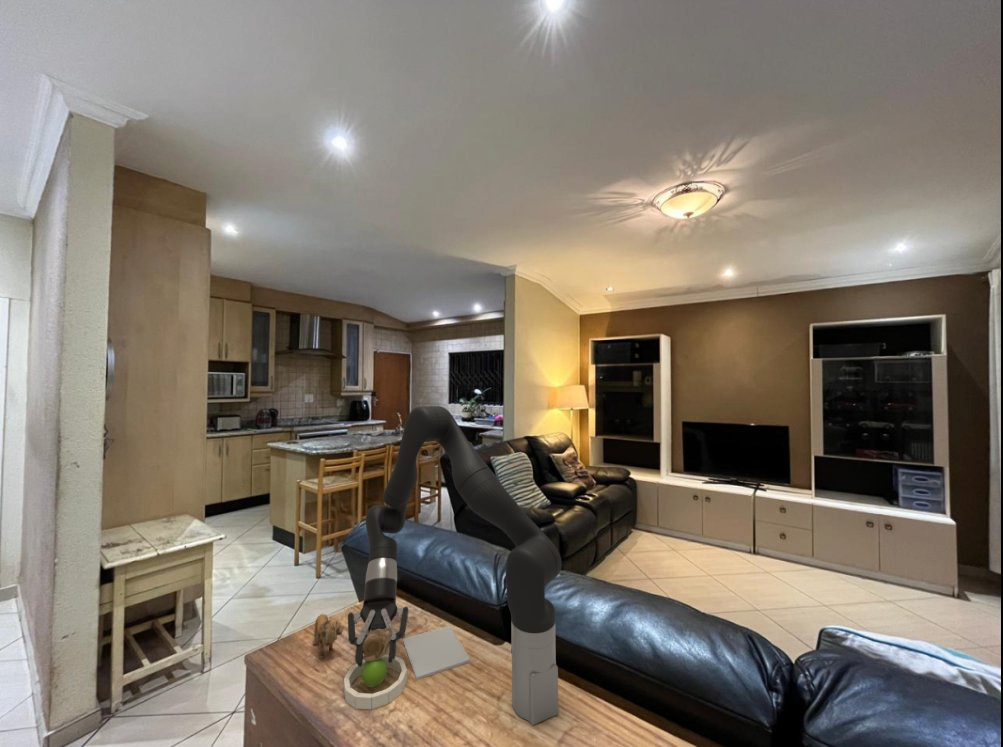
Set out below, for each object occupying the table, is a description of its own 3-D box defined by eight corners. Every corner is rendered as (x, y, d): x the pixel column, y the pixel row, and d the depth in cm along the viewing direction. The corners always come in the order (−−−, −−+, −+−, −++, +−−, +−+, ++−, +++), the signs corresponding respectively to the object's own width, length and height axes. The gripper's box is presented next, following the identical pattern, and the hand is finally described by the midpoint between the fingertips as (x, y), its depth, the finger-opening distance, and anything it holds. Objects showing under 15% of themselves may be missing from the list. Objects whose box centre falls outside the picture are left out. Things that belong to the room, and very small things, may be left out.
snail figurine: (393, 687, 87) (392, 632, 87) (362, 696, 85) (361, 639, 85) (390, 670, 92) (390, 618, 92) (361, 678, 90) (360, 625, 90)
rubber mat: (470, 662, 95) (470, 659, 95) (416, 680, 90) (416, 677, 90) (450, 627, 109) (450, 625, 109) (402, 641, 103) (402, 638, 103)
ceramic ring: (411, 695, 85) (411, 684, 85) (347, 718, 80) (347, 706, 80) (399, 658, 97) (399, 648, 97) (342, 675, 91) (342, 664, 91)
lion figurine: (346, 656, 98) (346, 619, 98) (324, 667, 94) (324, 628, 94) (323, 630, 108) (324, 596, 109) (303, 638, 105) (303, 604, 105)
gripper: (348, 579, 95) (337, 664, 83) (410, 573, 98) (408, 655, 86) (352, 590, 100) (343, 672, 88) (411, 584, 103) (409, 663, 91)
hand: (375, 663), depth 87 cm, fingers closed on snail figurine, 5 cm apart
